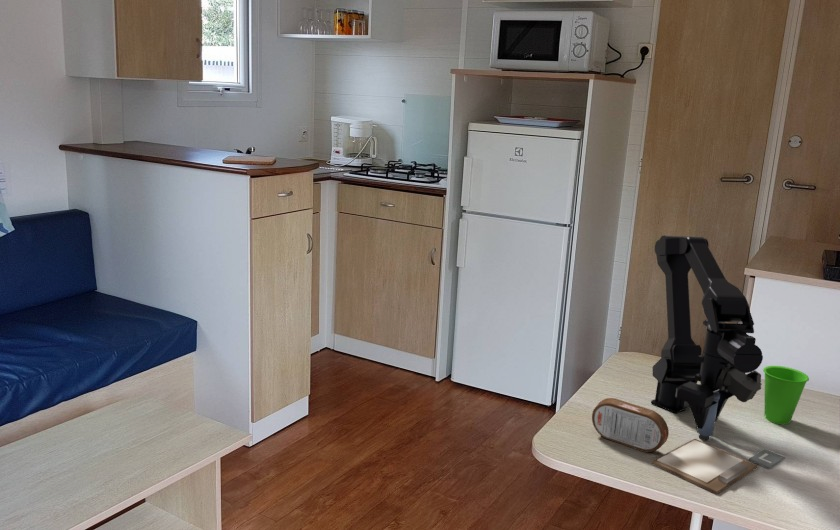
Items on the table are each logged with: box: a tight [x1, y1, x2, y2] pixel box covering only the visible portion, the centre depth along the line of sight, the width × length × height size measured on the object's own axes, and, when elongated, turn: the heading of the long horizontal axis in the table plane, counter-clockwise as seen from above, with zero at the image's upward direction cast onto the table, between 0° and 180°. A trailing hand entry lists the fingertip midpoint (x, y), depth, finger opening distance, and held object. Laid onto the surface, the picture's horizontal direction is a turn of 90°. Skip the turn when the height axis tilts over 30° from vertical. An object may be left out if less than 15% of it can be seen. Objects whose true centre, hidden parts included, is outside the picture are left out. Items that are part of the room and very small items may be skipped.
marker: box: [697, 391, 720, 441], centre depth 147 cm, size 3×3×10 cm
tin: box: [591, 397, 670, 453], centre depth 143 cm, size 15×3×8 cm, turn 54°
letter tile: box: [748, 448, 786, 470], centre depth 141 cm, size 4×7×1 cm, turn 131°
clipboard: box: [651, 438, 759, 495], centre depth 137 cm, size 13×16×2 cm
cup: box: [762, 365, 810, 425], centre depth 158 cm, size 9×9×11 cm
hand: (706, 424), depth 148 cm, fingers open, 5 cm apart
